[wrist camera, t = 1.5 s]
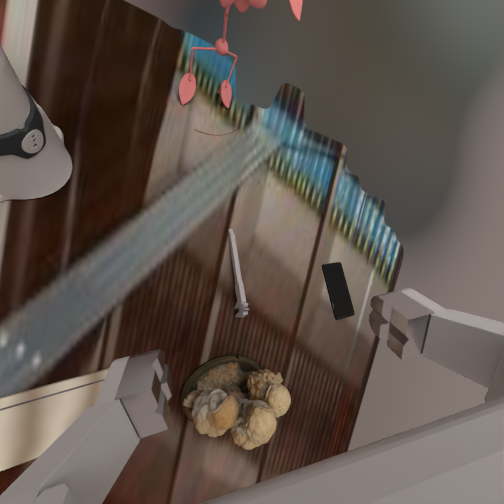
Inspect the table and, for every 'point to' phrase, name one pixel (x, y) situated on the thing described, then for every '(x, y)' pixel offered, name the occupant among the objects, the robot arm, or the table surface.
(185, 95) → the figurine
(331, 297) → the smartphone
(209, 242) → the table surface
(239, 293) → the caliper
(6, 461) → the board
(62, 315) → the table surface
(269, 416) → the carved stone sculpture
